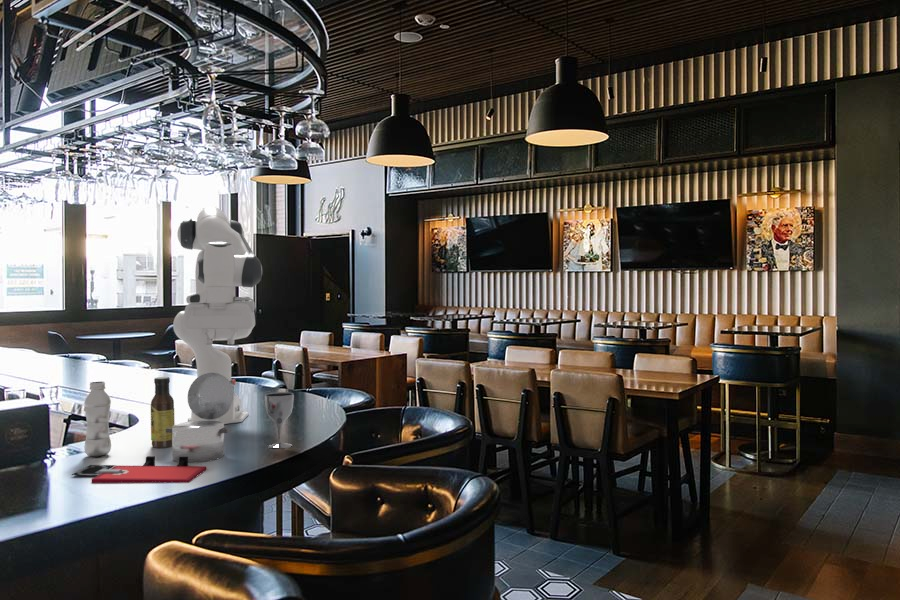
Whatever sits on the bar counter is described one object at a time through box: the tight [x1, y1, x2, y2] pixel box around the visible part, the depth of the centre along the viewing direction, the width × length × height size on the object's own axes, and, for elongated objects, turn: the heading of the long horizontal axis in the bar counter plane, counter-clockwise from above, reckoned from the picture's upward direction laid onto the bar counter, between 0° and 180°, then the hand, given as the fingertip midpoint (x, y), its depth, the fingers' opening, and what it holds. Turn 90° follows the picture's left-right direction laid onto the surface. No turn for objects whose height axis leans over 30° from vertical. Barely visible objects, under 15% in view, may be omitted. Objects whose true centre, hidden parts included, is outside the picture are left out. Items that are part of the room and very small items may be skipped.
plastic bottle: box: [84, 381, 112, 457], centre depth 178 cm, size 6×7×20 cm
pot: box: [166, 421, 232, 464], centre depth 177 cm, size 14×17×8 cm
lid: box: [187, 373, 235, 420], centre depth 185 cm, size 13×13×3 cm
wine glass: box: [264, 391, 295, 449], centre depth 188 cm, size 8×8×15 cm
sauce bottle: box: [150, 376, 176, 449], centre depth 189 cm, size 6×6×20 cm
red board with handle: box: [71, 455, 207, 484], centre depth 159 cm, size 30×3×15 cm
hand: (220, 344), depth 190 cm, fingers open, 5 cm apart
